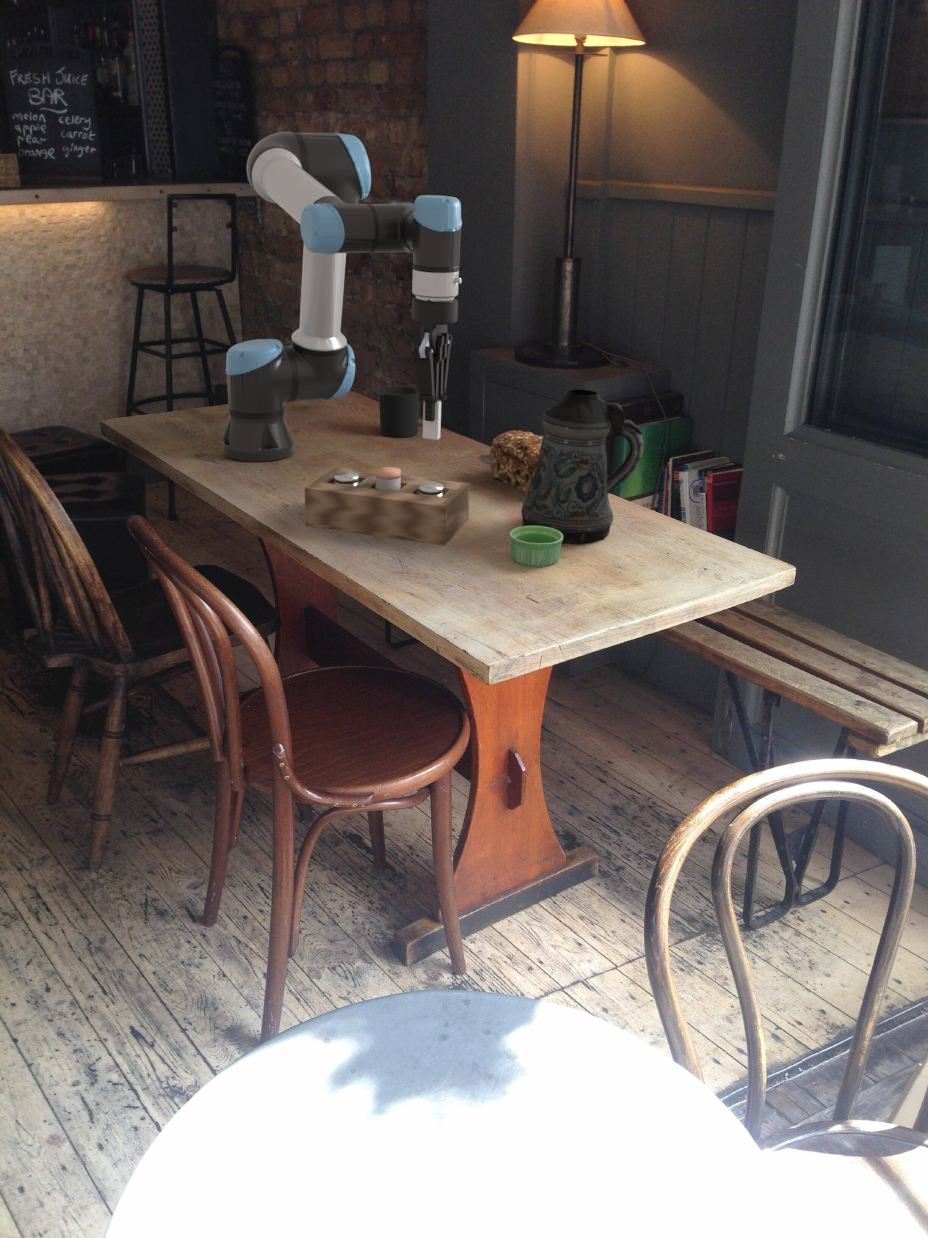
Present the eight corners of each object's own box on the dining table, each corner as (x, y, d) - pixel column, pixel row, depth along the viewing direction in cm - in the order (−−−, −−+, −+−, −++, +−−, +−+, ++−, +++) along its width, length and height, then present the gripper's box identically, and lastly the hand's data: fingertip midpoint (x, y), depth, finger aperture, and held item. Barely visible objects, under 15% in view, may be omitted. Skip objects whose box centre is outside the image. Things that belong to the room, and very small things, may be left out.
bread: (487, 478, 225) (489, 430, 221) (528, 470, 231) (531, 424, 227) (544, 503, 212) (547, 452, 207) (586, 494, 217) (590, 445, 213)
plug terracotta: (372, 507, 195) (372, 472, 192) (381, 500, 198) (381, 465, 196) (395, 510, 193) (395, 475, 191) (403, 503, 197) (404, 468, 195)
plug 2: (414, 522, 193) (415, 487, 191) (422, 515, 197) (423, 480, 194) (438, 526, 192) (439, 490, 189) (445, 518, 196) (446, 483, 193)
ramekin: (529, 545, 190) (530, 521, 188) (572, 558, 184) (574, 534, 183) (497, 558, 183) (498, 534, 181) (540, 572, 178) (542, 547, 176)
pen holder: (426, 431, 257) (427, 389, 253) (407, 440, 249) (408, 396, 245) (391, 426, 261) (391, 384, 256) (371, 434, 253) (371, 391, 249)
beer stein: (506, 519, 202) (513, 383, 191) (600, 510, 208) (612, 378, 198) (543, 549, 188) (553, 405, 177) (643, 539, 194) (658, 399, 184)
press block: (305, 525, 194) (304, 487, 192) (336, 502, 207) (336, 466, 204) (444, 545, 188) (445, 506, 185) (468, 520, 200) (469, 483, 197)
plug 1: (330, 511, 197) (330, 476, 195) (340, 504, 201) (340, 470, 199) (353, 514, 196) (353, 479, 194) (362, 507, 200) (362, 473, 197)
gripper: (444, 304, 172) (440, 450, 182) (468, 293, 183) (463, 431, 193) (399, 300, 174) (397, 444, 184) (426, 289, 185) (423, 426, 195)
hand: (431, 437), depth 189 cm, fingers closed
